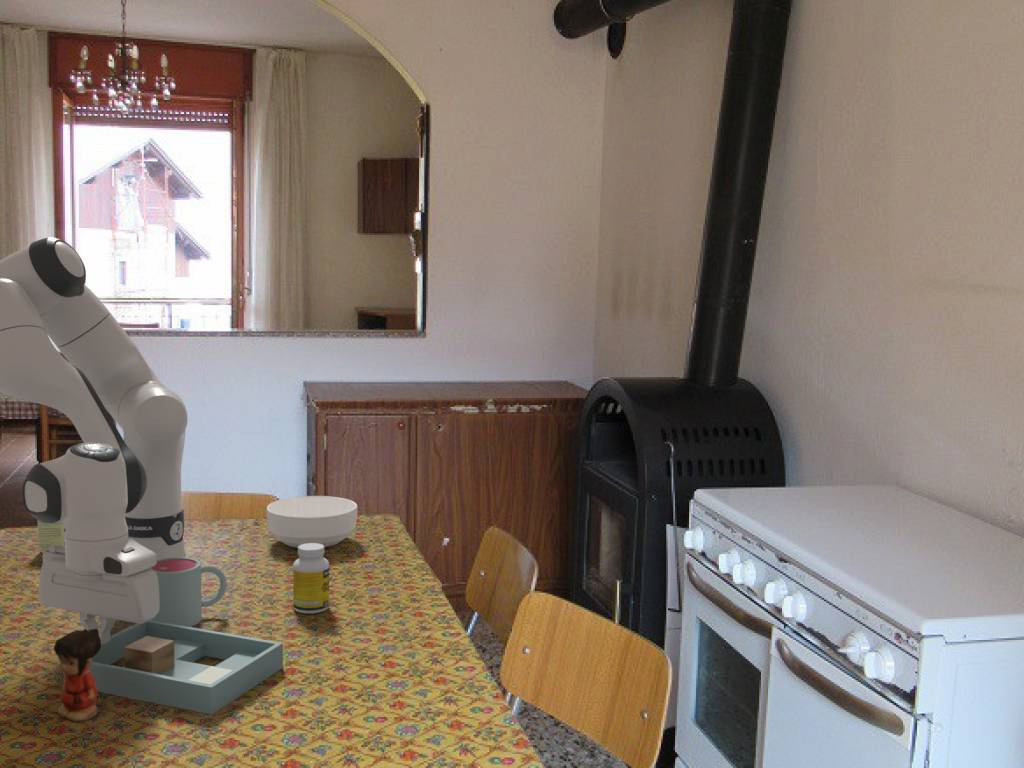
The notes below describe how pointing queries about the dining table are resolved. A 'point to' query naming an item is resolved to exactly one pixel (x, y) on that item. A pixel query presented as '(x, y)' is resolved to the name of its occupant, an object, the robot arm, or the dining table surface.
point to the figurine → (78, 674)
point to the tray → (188, 667)
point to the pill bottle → (311, 579)
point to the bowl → (311, 520)
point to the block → (150, 655)
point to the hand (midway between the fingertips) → (98, 641)
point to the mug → (183, 590)
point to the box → (50, 535)
